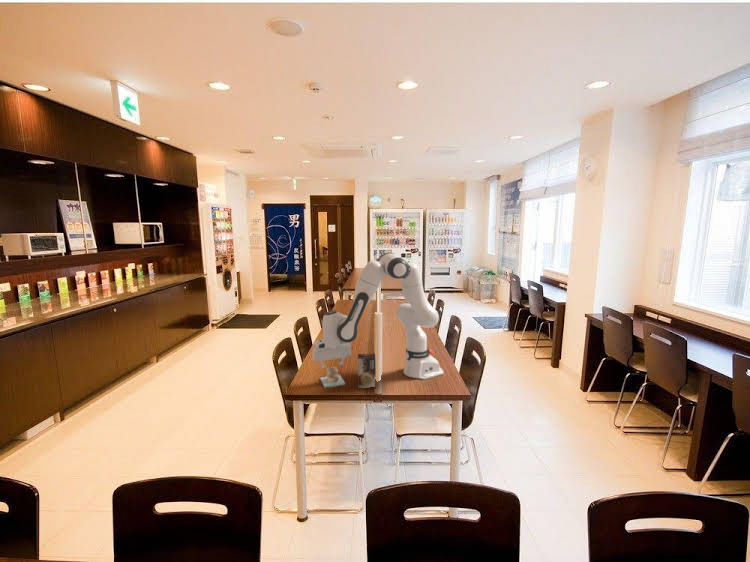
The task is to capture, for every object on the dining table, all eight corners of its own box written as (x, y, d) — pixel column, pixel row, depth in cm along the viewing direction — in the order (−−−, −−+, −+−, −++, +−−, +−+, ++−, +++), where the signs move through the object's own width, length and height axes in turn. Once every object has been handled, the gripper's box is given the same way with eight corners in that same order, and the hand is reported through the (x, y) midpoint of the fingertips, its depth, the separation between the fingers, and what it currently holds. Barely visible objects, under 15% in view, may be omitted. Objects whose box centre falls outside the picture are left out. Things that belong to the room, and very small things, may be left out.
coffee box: (375, 382, 186) (375, 353, 184) (375, 388, 180) (375, 357, 177) (358, 382, 186) (358, 353, 183) (358, 388, 179) (357, 358, 177)
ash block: (335, 377, 190) (335, 367, 189) (338, 381, 185) (338, 370, 184) (326, 379, 188) (326, 368, 187) (328, 382, 183) (328, 371, 182)
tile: (339, 376, 193) (339, 374, 193) (345, 384, 183) (345, 382, 183) (320, 379, 190) (320, 377, 190) (324, 388, 180) (324, 386, 179)
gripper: (349, 337, 190) (350, 361, 192) (311, 342, 183) (312, 367, 186) (352, 341, 184) (353, 365, 186) (313, 346, 177) (314, 371, 180)
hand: (332, 366), depth 186 cm, fingers open, 8 cm apart
